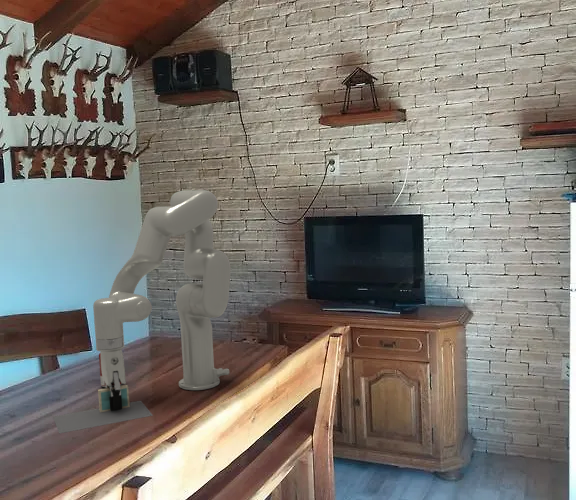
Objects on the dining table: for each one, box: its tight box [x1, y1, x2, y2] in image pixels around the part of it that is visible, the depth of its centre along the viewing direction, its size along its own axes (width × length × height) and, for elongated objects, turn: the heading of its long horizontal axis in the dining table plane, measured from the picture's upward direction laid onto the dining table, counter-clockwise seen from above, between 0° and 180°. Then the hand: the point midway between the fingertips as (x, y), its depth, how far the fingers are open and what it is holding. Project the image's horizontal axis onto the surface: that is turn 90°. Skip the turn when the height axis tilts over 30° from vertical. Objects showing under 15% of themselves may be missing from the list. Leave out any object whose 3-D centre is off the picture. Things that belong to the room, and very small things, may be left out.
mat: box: [52, 400, 153, 435], centre depth 177 cm, size 24×14×1 cm, turn 116°
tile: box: [97, 384, 130, 412], centre depth 182 cm, size 8×2×6 cm, turn 116°
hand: (114, 406), depth 183 cm, fingers open, 4 cm apart
